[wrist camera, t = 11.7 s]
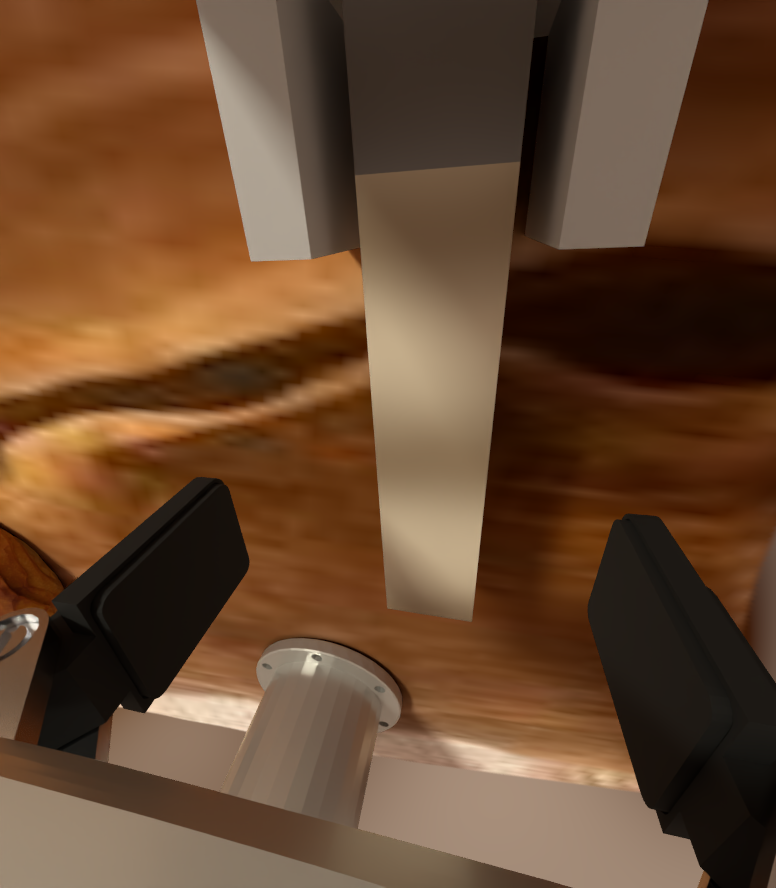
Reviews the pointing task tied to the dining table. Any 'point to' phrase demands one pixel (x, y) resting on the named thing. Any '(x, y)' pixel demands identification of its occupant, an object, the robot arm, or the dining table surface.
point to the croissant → (25, 578)
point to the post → (558, 134)
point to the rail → (435, 266)
